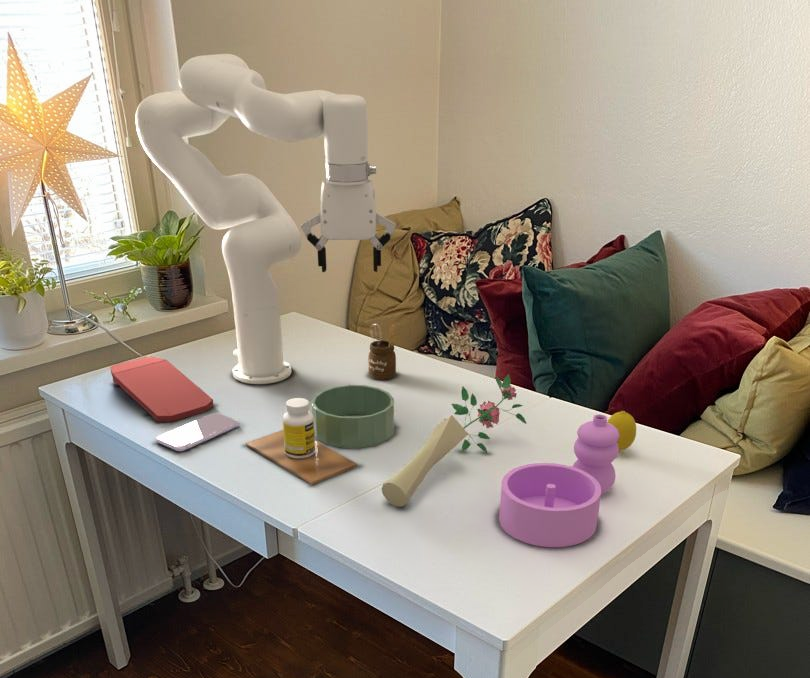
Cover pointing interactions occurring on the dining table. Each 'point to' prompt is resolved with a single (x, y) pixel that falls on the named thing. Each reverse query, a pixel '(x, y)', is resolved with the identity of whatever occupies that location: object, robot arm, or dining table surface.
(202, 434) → the mobile phone
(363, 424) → the bowl
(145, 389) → the red wedge block
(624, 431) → the lemon
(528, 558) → the dining table surface
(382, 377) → the utensil holder
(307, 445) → the supplement bottle
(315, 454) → the wooden board
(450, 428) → the flower vase
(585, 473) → the container set
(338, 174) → the robot arm
